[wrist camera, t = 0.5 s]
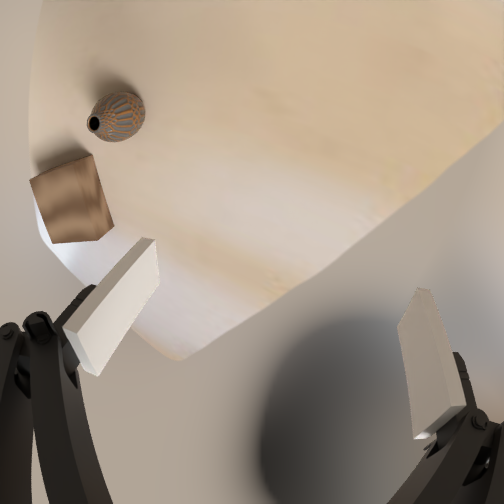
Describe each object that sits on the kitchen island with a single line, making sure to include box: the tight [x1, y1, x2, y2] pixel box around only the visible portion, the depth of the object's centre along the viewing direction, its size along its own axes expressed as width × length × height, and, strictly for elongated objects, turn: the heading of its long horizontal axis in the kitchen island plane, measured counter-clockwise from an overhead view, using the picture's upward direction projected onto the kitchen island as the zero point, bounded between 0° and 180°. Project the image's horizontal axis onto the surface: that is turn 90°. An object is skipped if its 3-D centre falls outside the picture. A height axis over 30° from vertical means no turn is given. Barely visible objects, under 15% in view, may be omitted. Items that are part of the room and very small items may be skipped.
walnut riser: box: [29, 155, 114, 244], centre depth 43 cm, size 13×13×5 cm
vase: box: [87, 92, 145, 142], centre depth 32 cm, size 7×7×9 cm
